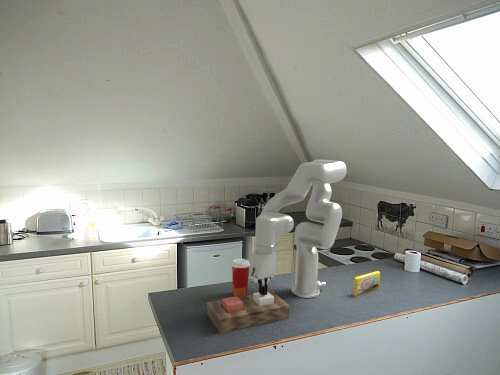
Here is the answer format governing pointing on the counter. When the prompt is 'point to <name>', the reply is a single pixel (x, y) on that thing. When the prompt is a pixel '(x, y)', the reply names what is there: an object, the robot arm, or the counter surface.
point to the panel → (246, 313)
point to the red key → (232, 304)
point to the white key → (263, 299)
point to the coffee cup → (240, 276)
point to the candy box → (366, 283)
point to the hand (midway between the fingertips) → (262, 293)
